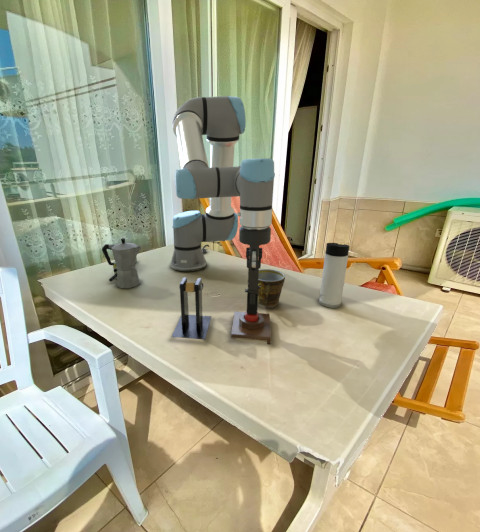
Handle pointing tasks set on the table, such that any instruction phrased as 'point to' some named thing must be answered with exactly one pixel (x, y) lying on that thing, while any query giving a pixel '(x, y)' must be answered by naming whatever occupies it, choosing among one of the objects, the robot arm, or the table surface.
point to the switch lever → (191, 287)
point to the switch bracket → (188, 323)
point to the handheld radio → (115, 271)
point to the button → (251, 317)
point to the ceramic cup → (270, 287)
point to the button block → (251, 327)
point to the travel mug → (333, 274)
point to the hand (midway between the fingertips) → (251, 312)
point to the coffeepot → (124, 263)
